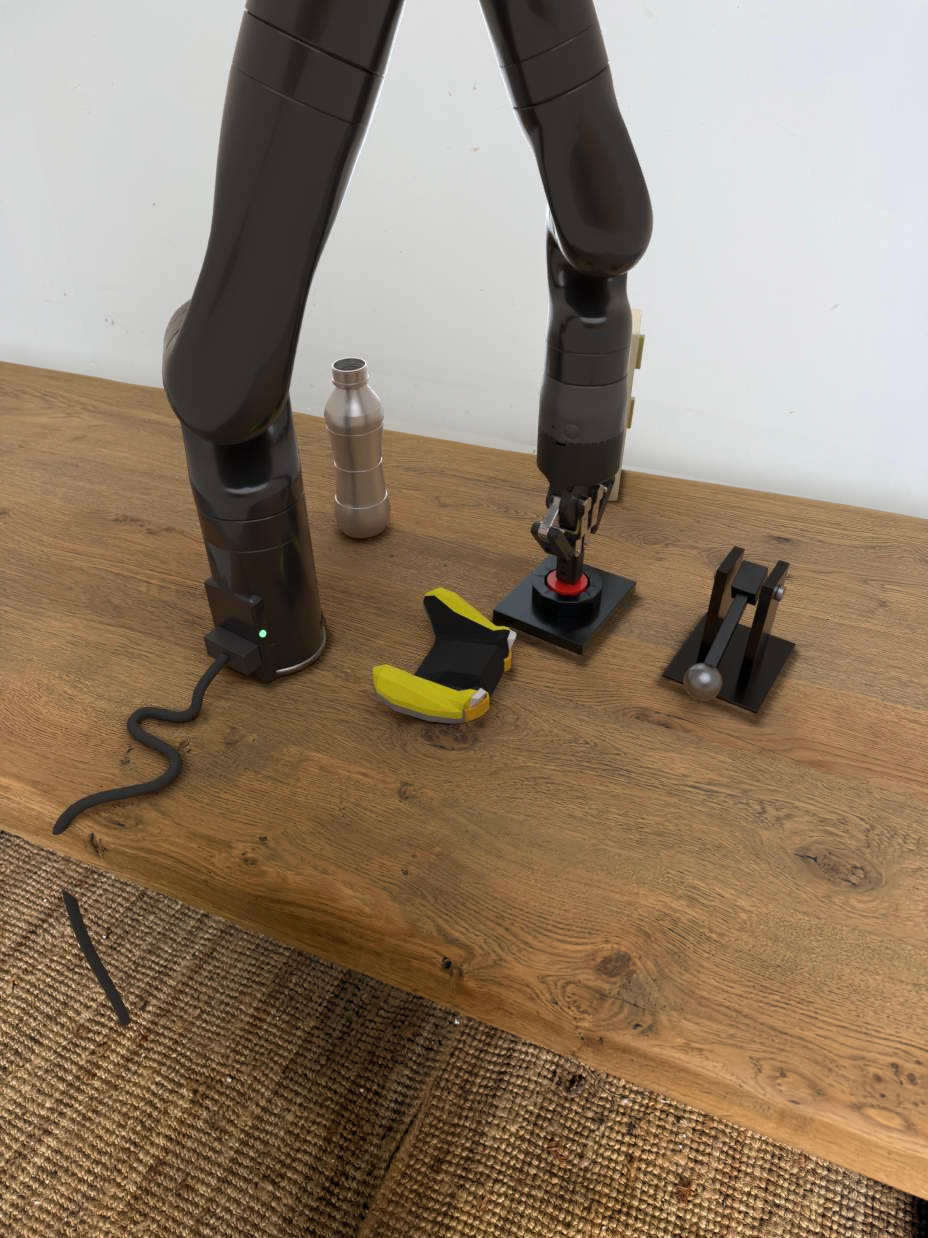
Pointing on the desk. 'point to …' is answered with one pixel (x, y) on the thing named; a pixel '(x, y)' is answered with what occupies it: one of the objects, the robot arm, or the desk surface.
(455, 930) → the desk surface
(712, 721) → the desk surface
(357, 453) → the silver metal bottle
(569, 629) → the control box
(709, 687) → the switch lever
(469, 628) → the gaming controller
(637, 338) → the toy refrigerator
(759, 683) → the switch bracket
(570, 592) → the button
